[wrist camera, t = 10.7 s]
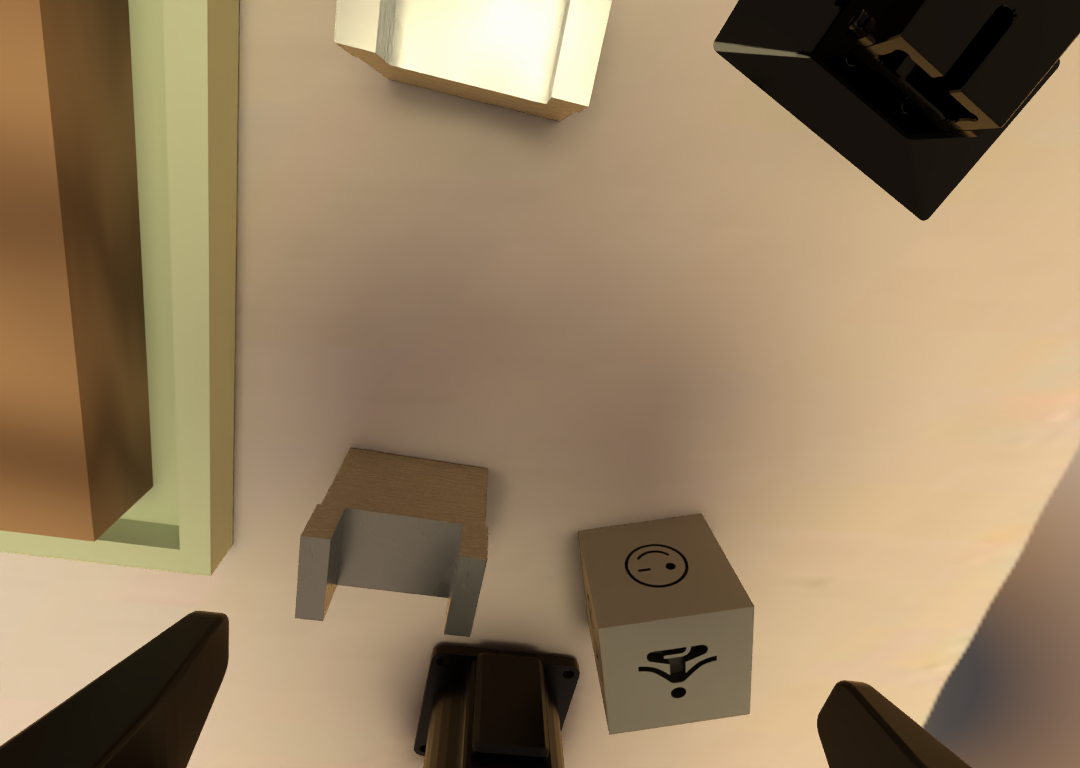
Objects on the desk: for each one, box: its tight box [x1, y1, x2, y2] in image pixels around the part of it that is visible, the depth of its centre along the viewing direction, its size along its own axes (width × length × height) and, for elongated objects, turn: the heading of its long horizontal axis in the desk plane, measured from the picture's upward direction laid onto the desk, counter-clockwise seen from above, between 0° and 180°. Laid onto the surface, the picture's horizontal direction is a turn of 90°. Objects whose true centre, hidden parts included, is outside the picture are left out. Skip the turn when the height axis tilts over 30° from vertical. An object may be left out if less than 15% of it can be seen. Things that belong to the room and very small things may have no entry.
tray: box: [0, 0, 239, 576], centre depth 15 cm, size 23×8×2 cm, turn 168°
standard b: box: [334, 0, 612, 121], centre depth 13 cm, size 3×5×5 cm, turn 78°
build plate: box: [713, 0, 1080, 221], centre depth 14 cm, size 12×7×5 cm, turn 58°
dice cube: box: [578, 514, 754, 735], centre depth 20 cm, size 5×5×5 cm
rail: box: [0, 0, 153, 542], centre depth 14 cm, size 18×3×3 cm, turn 168°
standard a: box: [295, 448, 488, 637], centre depth 18 cm, size 3×5×5 cm, turn 78°
